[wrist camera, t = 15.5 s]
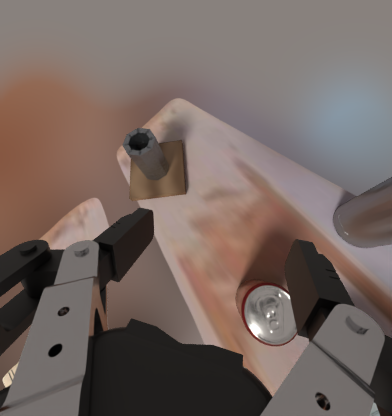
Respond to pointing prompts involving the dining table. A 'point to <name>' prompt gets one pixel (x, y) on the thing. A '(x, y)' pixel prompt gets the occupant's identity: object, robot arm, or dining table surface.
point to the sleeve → (146, 153)
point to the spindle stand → (167, 184)
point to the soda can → (266, 312)
